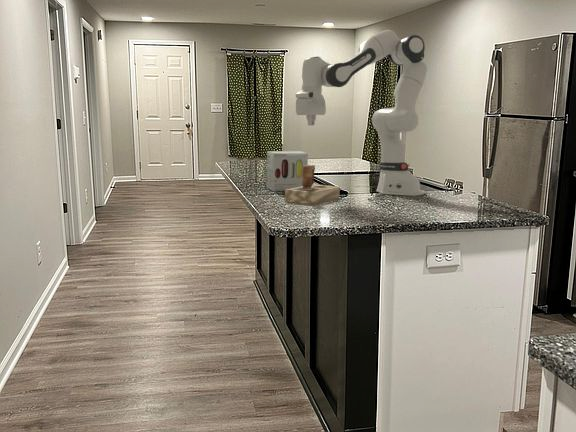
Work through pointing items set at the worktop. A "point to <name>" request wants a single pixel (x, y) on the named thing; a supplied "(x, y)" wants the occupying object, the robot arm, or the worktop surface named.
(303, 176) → the peg
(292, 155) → the supplement box
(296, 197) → the board
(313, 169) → the food container
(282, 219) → the worktop surface
